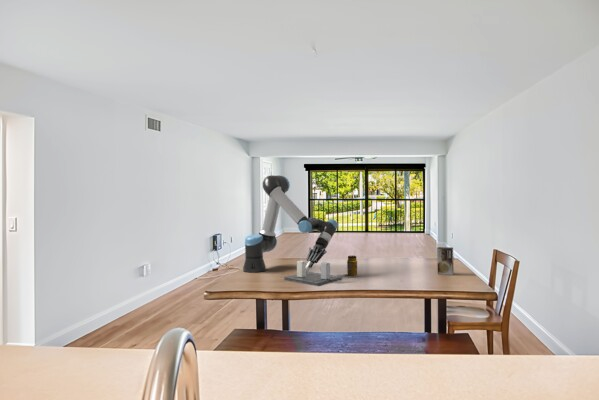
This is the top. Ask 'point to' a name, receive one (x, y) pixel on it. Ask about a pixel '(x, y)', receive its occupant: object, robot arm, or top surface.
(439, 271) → the coffee box
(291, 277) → the dark grey flat board
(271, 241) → the robot arm
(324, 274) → the block
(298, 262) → the block
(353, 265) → the condiment
